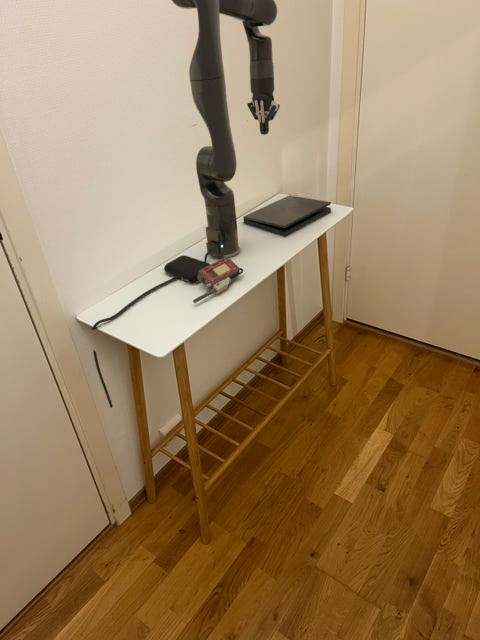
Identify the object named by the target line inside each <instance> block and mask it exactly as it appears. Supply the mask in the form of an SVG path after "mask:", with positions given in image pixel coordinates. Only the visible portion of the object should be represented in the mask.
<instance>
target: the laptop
mask: <svg viewBox="0 0 480 640" xmlns="http://www.w3.org/2000/svg"><path fill="white" fill-rule="evenodd" d="M331 212H332V208H331V207H329V206H327V207H325V208H323V209H321V210H319V211H317V212H315V213H313V214H311V215H309V216H307V217H305V218H303V219H301V220H300V221H298V222H296V223H294V224H292V225H290V226H288V227H286V228H281V227H277V226H273V225H269V224H264V223H260V222H256V221H251V220H247V219H243V224H244V225H246V226H247V225H248V226H251V227H253V228H256V229H260V230H263V231H266V232H268V233H272V234H274V235H278V236H282V237H284V238H287V236H290V235H292V234H293V233H295V232H297V231H299V230H301V229H302V228H304V227H306V226H308V225H310V224H312V223H313V222H316V221H317V220H319V219H321V218H323V217H324V216H327V215H328V214H330V213H331Z"/></svg>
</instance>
